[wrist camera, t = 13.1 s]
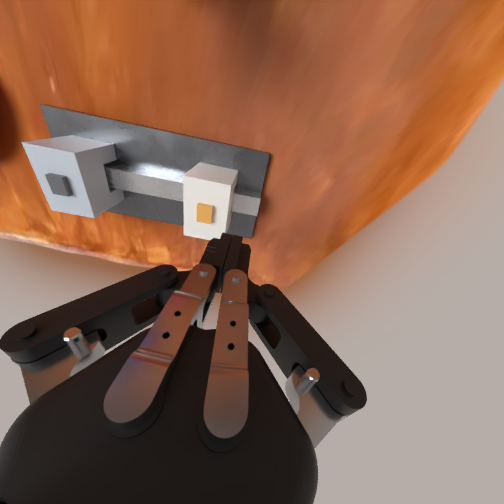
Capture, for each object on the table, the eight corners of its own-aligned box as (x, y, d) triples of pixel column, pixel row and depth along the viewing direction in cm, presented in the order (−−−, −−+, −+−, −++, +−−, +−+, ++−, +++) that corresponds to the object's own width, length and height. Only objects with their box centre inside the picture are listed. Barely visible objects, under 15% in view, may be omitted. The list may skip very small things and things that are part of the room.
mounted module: (71, 135, 24) (14, 143, 18) (113, 143, 24) (69, 154, 19) (89, 192, 28) (46, 212, 22) (124, 199, 28) (90, 220, 23)
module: (199, 162, 25) (181, 177, 19) (238, 170, 25) (230, 187, 19) (197, 213, 29) (182, 237, 23) (230, 220, 29) (222, 245, 24)
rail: (46, 104, 23) (21, 104, 20) (269, 152, 24) (269, 157, 22) (80, 203, 30) (64, 211, 27) (251, 235, 31) (250, 245, 29)
